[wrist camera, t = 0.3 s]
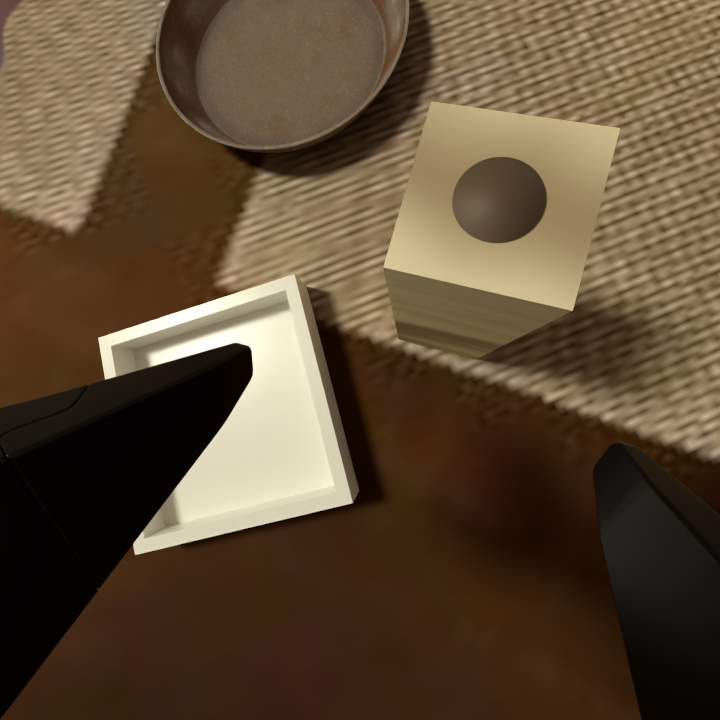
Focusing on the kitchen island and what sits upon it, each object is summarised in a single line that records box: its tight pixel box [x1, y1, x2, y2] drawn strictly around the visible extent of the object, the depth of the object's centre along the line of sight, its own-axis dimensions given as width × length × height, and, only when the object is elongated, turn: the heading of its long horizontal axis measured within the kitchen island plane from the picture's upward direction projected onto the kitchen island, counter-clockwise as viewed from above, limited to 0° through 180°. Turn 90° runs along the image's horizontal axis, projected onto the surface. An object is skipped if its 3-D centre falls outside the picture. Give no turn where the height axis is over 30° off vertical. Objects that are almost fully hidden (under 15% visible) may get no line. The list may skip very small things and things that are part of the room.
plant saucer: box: [156, 0, 410, 153], centre depth 24 cm, size 18×18×3 cm
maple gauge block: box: [383, 101, 620, 359], centre depth 16 cm, size 5×5×13 cm
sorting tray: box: [98, 274, 359, 555], centre depth 22 cm, size 14×14×2 cm
